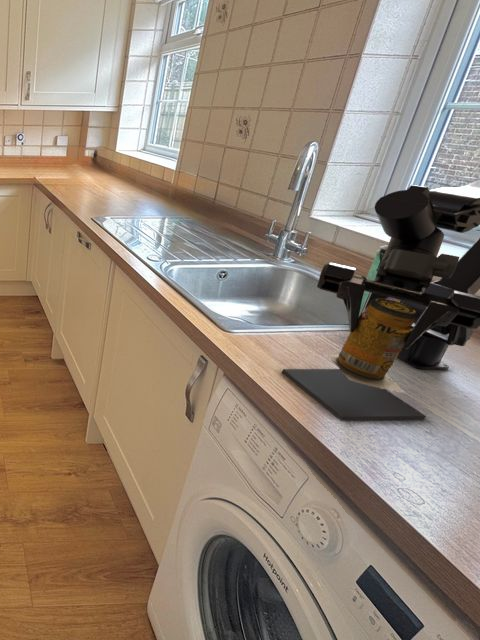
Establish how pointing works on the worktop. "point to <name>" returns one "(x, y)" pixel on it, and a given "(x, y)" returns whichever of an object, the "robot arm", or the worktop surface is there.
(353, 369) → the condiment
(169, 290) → the worktop surface
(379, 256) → the spray can
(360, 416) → the mat
